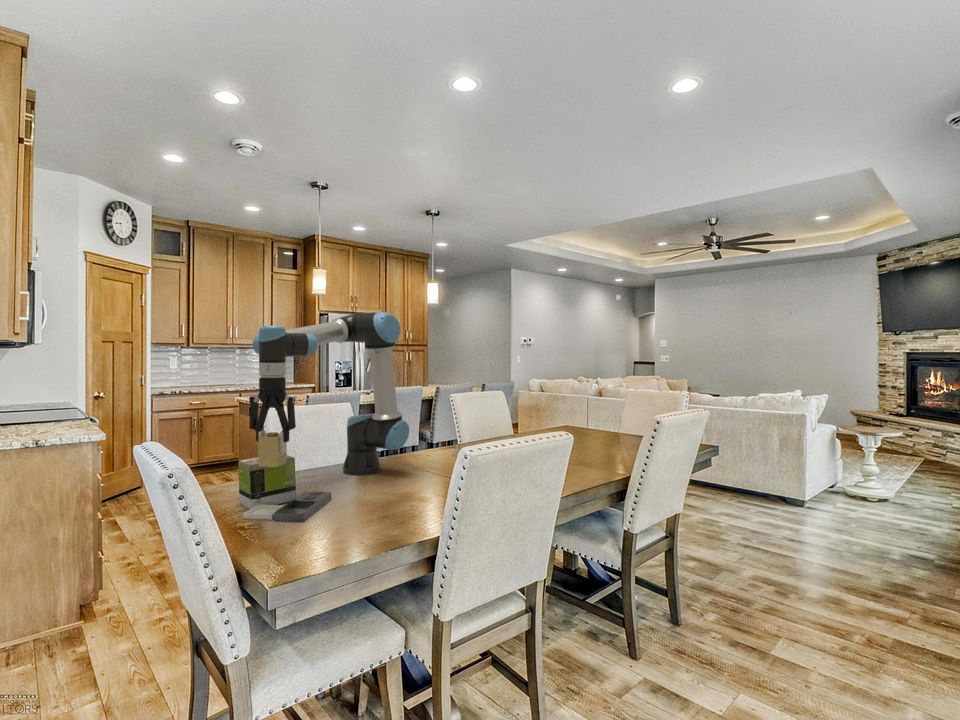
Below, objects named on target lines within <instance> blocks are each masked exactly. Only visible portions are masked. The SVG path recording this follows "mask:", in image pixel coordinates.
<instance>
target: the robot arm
mask: <svg viewBox="0 0 960 720" xmlns="http://www.w3.org/2000/svg"><path fill="white" fill-rule="evenodd" d="M400 336H401V325H400V322H399V320H398V318H397V317H396V316H395V315H394V314H393V313H390V312H385V311H376V312H375V311H373V312H356V313H352V314H348V315H345V316H341V317H335V318H332V320H331V321H330V322H324V323H318V324H312V325H306V326H301V327H295V328H291V329H286V327H285V326H284V325H261V326H260V328H259V329H258V334H256V335H255V336H254V338H253V339H252V348H253V351H254V352H255V353H256V354H258V375H259V376H260V377H259V378H258V390H259V391H258V393H257V395H251V396H249V398H248V399H249V400H248V401H249V404H250V410H249V411H250V412H249V413H250V414H249V425H248V426H249V429H250V430H254V431H255V441H256V442H257V443H258V437H259V436H262V435H264V434H266V429H265V428H264V425H265V422H266V420H267V416H268V412H269V410H270V408H274V409H275V411H276V412H277V417H278V419H279V423H280V426H281V431H279V433H280V454H283V453H285V452H287V453H288V450H287V449H288V446H287V445H288V444H287V443H288V442H290V431H291V430H294V429H296V428H297V425H296V412H295V402H296V396H291V395H288V394H287V392H286V388H287V387H286V384H287V382H286V381H287V380H286V377H285V376H286V369H287V368H286V361H287V360H286V359H287V357H290V358H294V357H304V358H305V357H311V356H314V355H315V354H316V352H317V351H318V347H319V346H321V345H326V344H330V343H335V342H336V343H338V344H339V343H340V344H342V343H364V349H365V350H366V351H367V352H368V353H369V360H370V361H369V362H370V370H371V371H370V372H371V380H372V381H371V382H372V393H373V402H374V411H375V412H374V413H365V414H357V415H352V416H350V417H348V419H347V424H346V436H347V437H346V438H347V439H346V441H347V443H346V444H347V446H346V447H347V453H346V456H345V459H344V463H343V465H342V472H343V473H344V474H347V475H351V476H365V475H372V474H377V473H379V472H380V471H381V469H382V467H381V466H382V463H381V460H380V458H379V456H378V455H379V454H378V452H377V449H383V450H394V451H395V450H399V449H401V448H404V447H403V446H405V444H406V443H407V441H408V439H409V435H410V427H409V424H408V422H407V421H405V420H403V416H402V415H403V414H402V412H400V411H399V410H398V403H397V392H396V381H395V369H394V359H393V358H394V357H393V350H394V348H395V347H396V343H397V341H399V339H400ZM259 402H261V406H260V412H259ZM284 402H286V409H287V410H286V411H287V415H286V411H285V405H284ZM258 415H259V416H258Z"/></svg>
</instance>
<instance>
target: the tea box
mask: <svg viewBox="0 0 960 720" xmlns="http://www.w3.org/2000/svg"><path fill="white" fill-rule="evenodd" d="M295 459H296V458H295V457H294V456H291V455H287V463H285V464H283V465H281V466H279V467H259V457H258V456H257V457H252V458H251V457H250V458H245V459H241V460H238V494H239V495H238V496H239V504H240V505H241V506H243V507H244V508H246V509H247V510H250V509H252V508H253V507H255V506H257V505H279V504H284V503H289V502H291V501H292V500H294V499H295V498H297V490H296V489H297V485H296V481H297V480H296V479H297V478H296V460H295Z"/></svg>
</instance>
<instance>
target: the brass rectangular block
mask: <svg viewBox="0 0 960 720" xmlns="http://www.w3.org/2000/svg"><path fill="white" fill-rule="evenodd" d="M257 443H258V446H257V447H258V450H257V451H258V456H257V457H259V467H279V466H281V465H283V464H285V463H287V454H288V451H287V452H285V453H283V454H280V432H278V431H277V432H275V431H272V432H267V433H265V434H264V435H262V436H259V437H258V442H257Z"/></svg>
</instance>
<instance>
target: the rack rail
mask: <svg viewBox="0 0 960 720" xmlns="http://www.w3.org/2000/svg"><path fill="white" fill-rule="evenodd" d="M332 498H333V497H332V492H331V491H308V490H307V491H306V490H305V491H304V492H302V493H300V495H298V496H296V498H295V499H294V500H292V501H290V502H287V503H286V504H284V506H283V507H282V508H280V509H279V510H277V511H276V512H274V519H273V521H274V522H285V523H286V522H288V523H289V522H290V523H291V522H292V523H305V522H306V521H307V520H308V519H309V518H310V517H312V516H313V515H314V514H316V513H317V512H318V511H319V510H321V509H322V508H324V507H325V506H326V505H327V504H328V503H329V502H331V500H332Z"/></svg>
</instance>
